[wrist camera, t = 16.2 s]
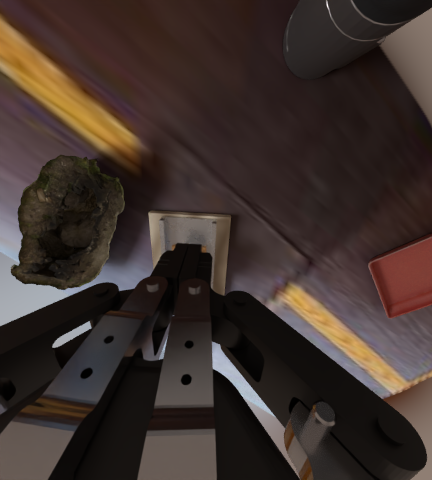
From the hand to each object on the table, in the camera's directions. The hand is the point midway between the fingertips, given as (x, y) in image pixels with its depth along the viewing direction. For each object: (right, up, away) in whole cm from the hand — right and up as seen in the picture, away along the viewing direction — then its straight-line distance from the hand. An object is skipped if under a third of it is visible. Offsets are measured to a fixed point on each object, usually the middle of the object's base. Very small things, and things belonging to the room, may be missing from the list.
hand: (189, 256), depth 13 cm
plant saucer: (+45, -5, +34) cm, 56 cm away
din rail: (-4, -4, +33) cm, 33 cm away
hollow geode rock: (-23, +6, +30) cm, 39 cm away
